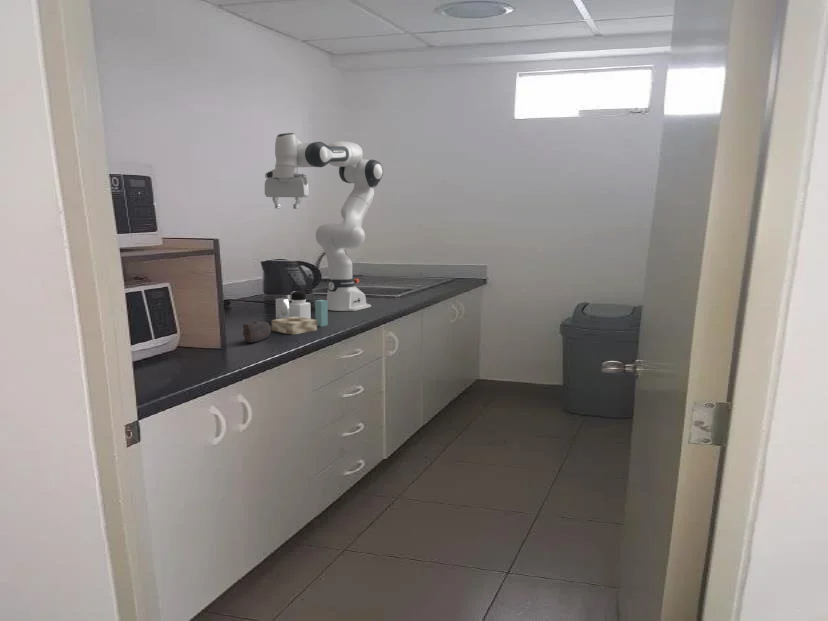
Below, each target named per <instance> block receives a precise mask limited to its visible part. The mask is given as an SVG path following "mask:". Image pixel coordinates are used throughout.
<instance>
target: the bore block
mask: <svg viewBox="0 0 828 621" xmlns="http://www.w3.org/2000/svg"><path fill="white" fill-rule="evenodd" d="M272 331H273V332H278V333H283V334H288V335H292V336H294V335H299V334H303V333H309V332H315V331H318V326H317V320H316V318H315V319H313V318H311V319H309V318H303V317H298V316H294V317H288V318H282V319H276V318H275V319H272V320H271V332H272Z"/></svg>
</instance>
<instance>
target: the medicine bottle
mask: <svg viewBox="0 0 828 621" xmlns="http://www.w3.org/2000/svg"><path fill="white" fill-rule="evenodd" d="M290 298H291V299H290V301H291V302H289V304H290V317H294V316H298V317H303V318H309V319H312V317H311V316H312V315H311V314H312V313H311V309H312V308H311V305H312V304H311V302H307V292H305V291H303V290H295V291H291V293H290Z"/></svg>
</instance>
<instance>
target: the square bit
mask: <svg viewBox="0 0 828 621" xmlns="http://www.w3.org/2000/svg"><path fill="white" fill-rule="evenodd" d="M314 301H315V302H314V303H315V305H314V306H315V308H314V309H315V310H314V311H315V313H314V314H315V317H314V318H315V320H317V327H326V326H328V325H329V319H328V318H329V315H328V314H329V312H328V311H329V310H328V301H327V299H326V300H325V299H316V300H314Z"/></svg>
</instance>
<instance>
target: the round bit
mask: <svg viewBox="0 0 828 621" xmlns="http://www.w3.org/2000/svg"><path fill="white" fill-rule="evenodd" d="M289 303H290V298H286V297H282V298H279V297H278V298H275V320H276V319H282V318H288V317H290V304H289Z"/></svg>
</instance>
